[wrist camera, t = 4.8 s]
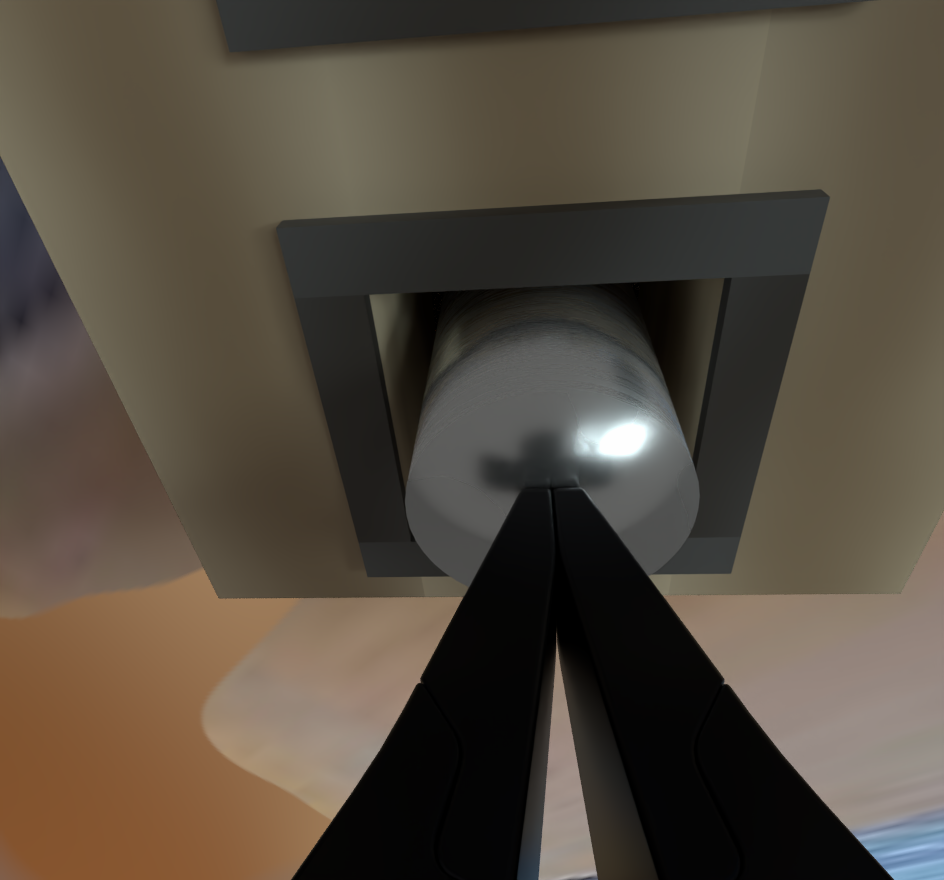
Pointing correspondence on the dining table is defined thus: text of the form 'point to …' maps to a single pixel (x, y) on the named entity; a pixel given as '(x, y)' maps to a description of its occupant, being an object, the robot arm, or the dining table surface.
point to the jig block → (500, 254)
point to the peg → (546, 422)
